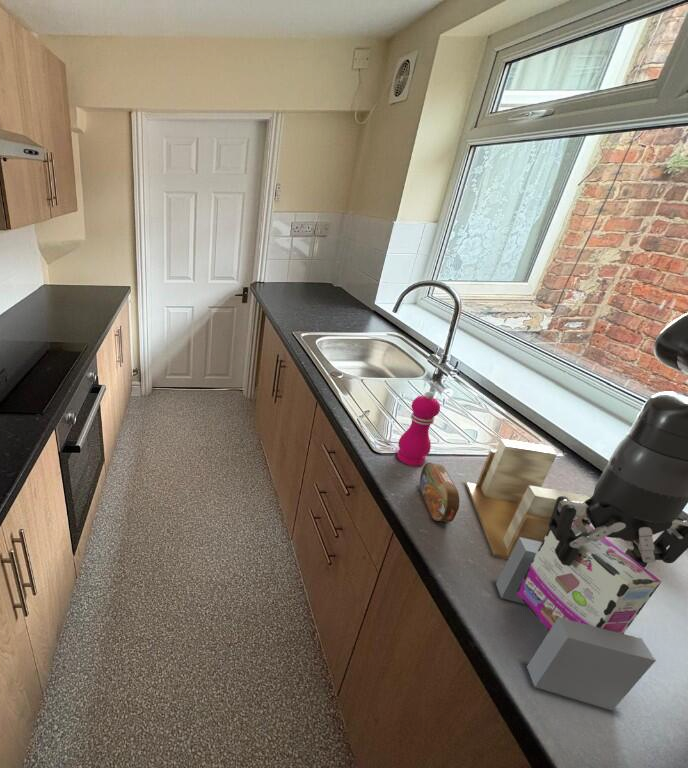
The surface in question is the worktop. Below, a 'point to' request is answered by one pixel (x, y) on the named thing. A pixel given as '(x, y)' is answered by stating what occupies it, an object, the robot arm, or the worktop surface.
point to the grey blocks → (577, 648)
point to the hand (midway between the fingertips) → (592, 567)
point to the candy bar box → (587, 586)
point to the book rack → (516, 495)
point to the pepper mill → (418, 431)
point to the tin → (439, 492)
